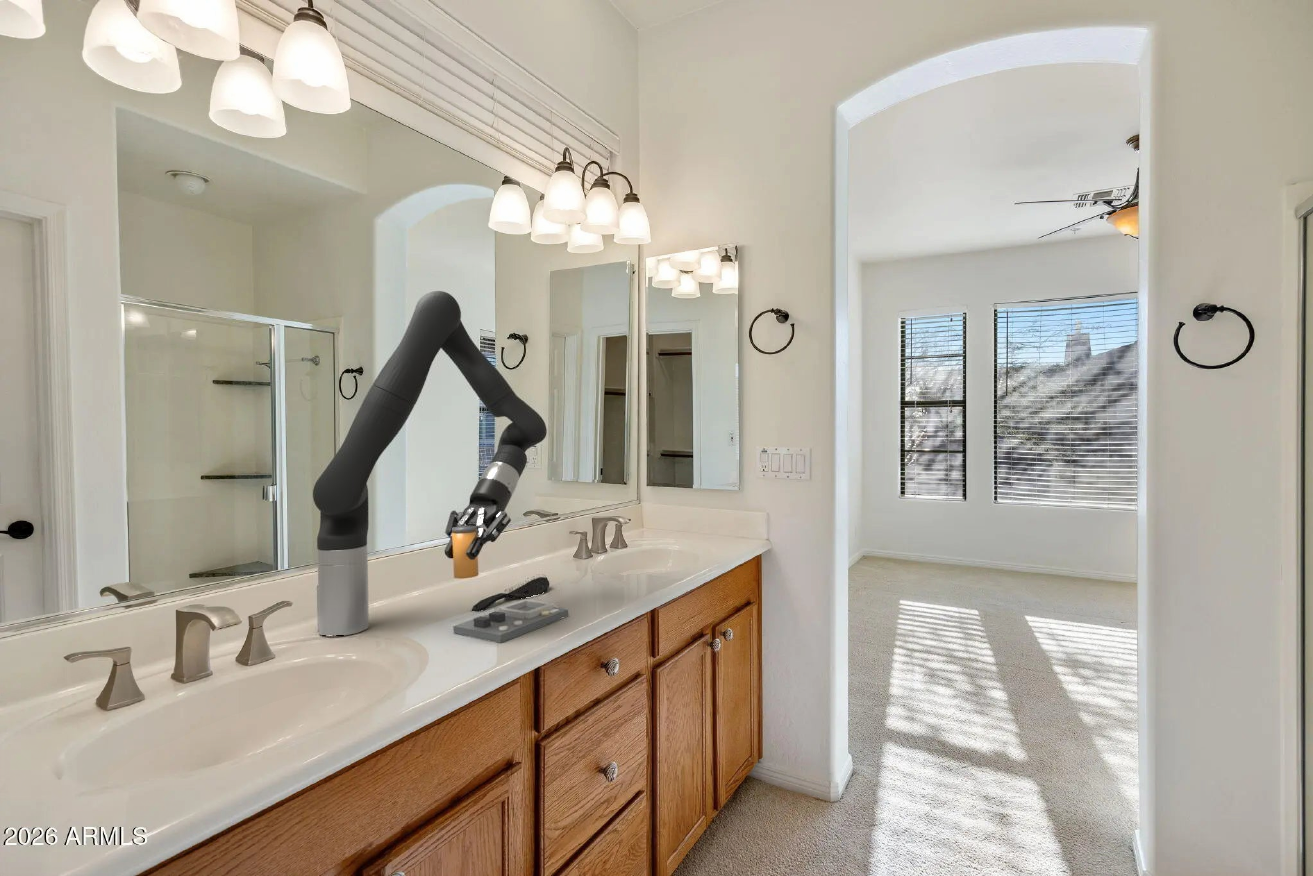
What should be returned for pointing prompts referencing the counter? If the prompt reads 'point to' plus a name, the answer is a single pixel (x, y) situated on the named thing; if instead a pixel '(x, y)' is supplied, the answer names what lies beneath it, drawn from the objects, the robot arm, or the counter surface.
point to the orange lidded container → (464, 552)
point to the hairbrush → (516, 593)
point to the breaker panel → (511, 620)
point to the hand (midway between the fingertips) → (459, 556)
